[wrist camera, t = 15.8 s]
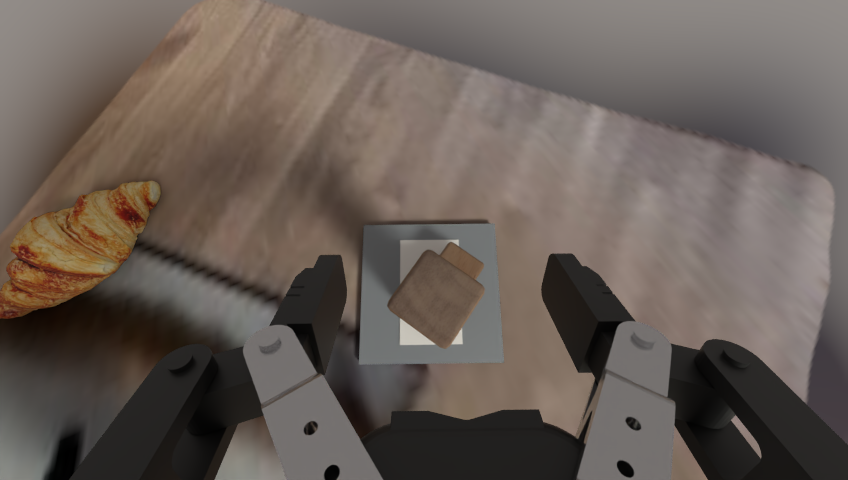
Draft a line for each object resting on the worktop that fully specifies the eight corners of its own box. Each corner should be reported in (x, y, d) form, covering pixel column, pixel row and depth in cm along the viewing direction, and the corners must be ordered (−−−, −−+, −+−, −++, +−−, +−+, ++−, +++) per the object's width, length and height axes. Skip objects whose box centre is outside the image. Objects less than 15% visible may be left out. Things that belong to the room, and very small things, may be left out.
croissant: (172, 185, 45) (108, 144, 39) (191, 211, 39) (120, 167, 33) (43, 305, 41) (-53, 279, 35) (43, 353, 35) (-72, 333, 29)
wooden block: (447, 248, 38) (467, 189, 21) (479, 270, 37) (527, 228, 20) (403, 311, 36) (383, 306, 19) (435, 335, 36) (446, 352, 18)
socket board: (361, 362, 36) (358, 364, 35) (365, 227, 40) (363, 224, 39) (501, 361, 36) (504, 362, 35) (492, 226, 40) (494, 223, 39)
